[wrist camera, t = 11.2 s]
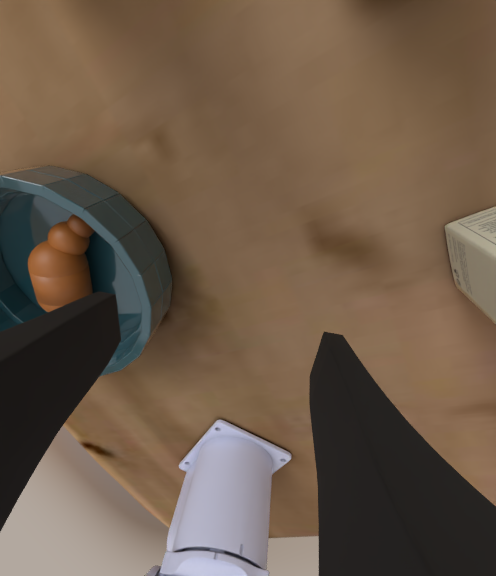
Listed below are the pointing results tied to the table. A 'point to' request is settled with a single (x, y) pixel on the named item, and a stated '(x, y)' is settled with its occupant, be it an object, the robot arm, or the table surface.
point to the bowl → (100, 254)
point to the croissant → (61, 265)
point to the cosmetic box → (475, 258)
